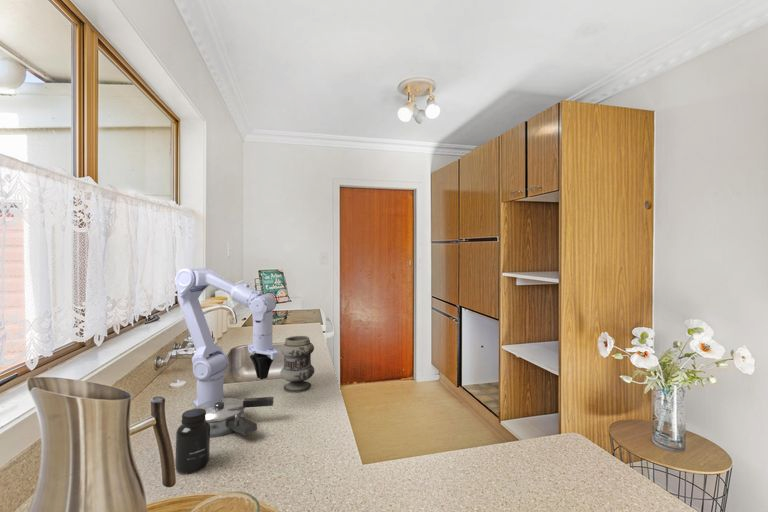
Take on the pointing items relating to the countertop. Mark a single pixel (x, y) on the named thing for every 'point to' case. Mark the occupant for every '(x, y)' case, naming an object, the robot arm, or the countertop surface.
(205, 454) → the supplement bottle
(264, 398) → the lid
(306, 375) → the apothecary jar
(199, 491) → the countertop surface
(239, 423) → the pot
